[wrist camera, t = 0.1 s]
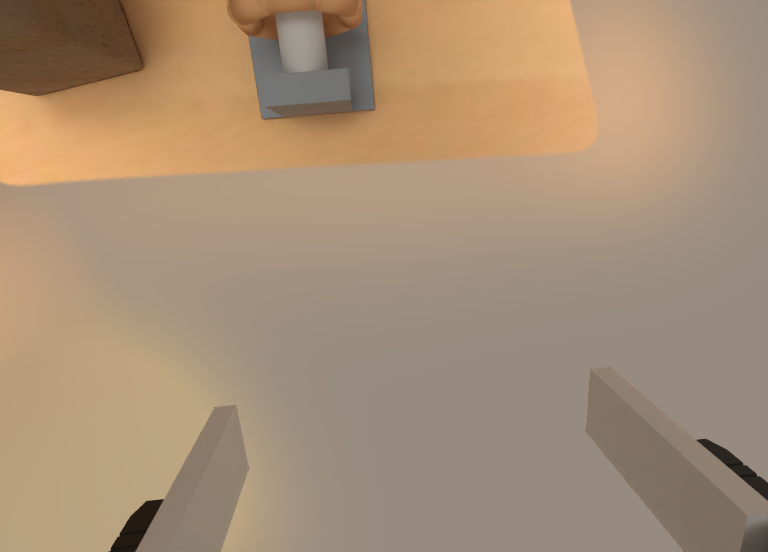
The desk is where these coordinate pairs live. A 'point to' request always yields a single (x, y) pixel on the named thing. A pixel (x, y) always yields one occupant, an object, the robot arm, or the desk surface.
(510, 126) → the desk surface
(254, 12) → the o-ring
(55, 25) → the wooden block
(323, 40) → the pipe stand
